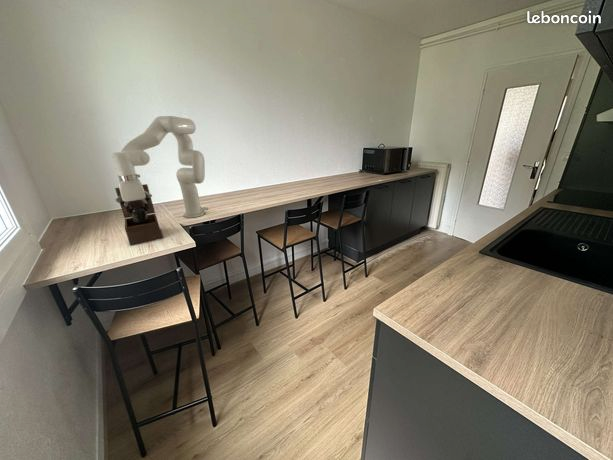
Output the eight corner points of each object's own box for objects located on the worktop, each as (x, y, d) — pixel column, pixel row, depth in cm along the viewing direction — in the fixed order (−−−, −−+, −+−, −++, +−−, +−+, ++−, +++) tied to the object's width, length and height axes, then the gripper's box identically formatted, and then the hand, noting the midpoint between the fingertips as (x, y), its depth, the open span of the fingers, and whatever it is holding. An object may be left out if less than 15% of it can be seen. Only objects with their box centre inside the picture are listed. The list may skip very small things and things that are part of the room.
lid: (147, 184, 140) (146, 183, 144) (114, 188, 132) (115, 187, 136) (155, 212, 145) (154, 211, 149) (124, 218, 138) (124, 216, 142)
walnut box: (162, 238, 138) (157, 221, 134) (130, 245, 130) (124, 228, 126) (159, 229, 150) (155, 213, 146) (130, 235, 142) (124, 218, 138)
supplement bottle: (151, 223, 135) (145, 202, 130) (137, 227, 131) (130, 205, 126) (147, 220, 140) (140, 199, 135) (133, 224, 135) (126, 202, 130)
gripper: (147, 174, 132) (156, 206, 139) (107, 179, 123) (118, 213, 131) (148, 177, 126) (157, 210, 134) (106, 182, 118) (118, 217, 125)
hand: (138, 211), depth 132 cm, fingers closed on supplement bottle, 6 cm apart
